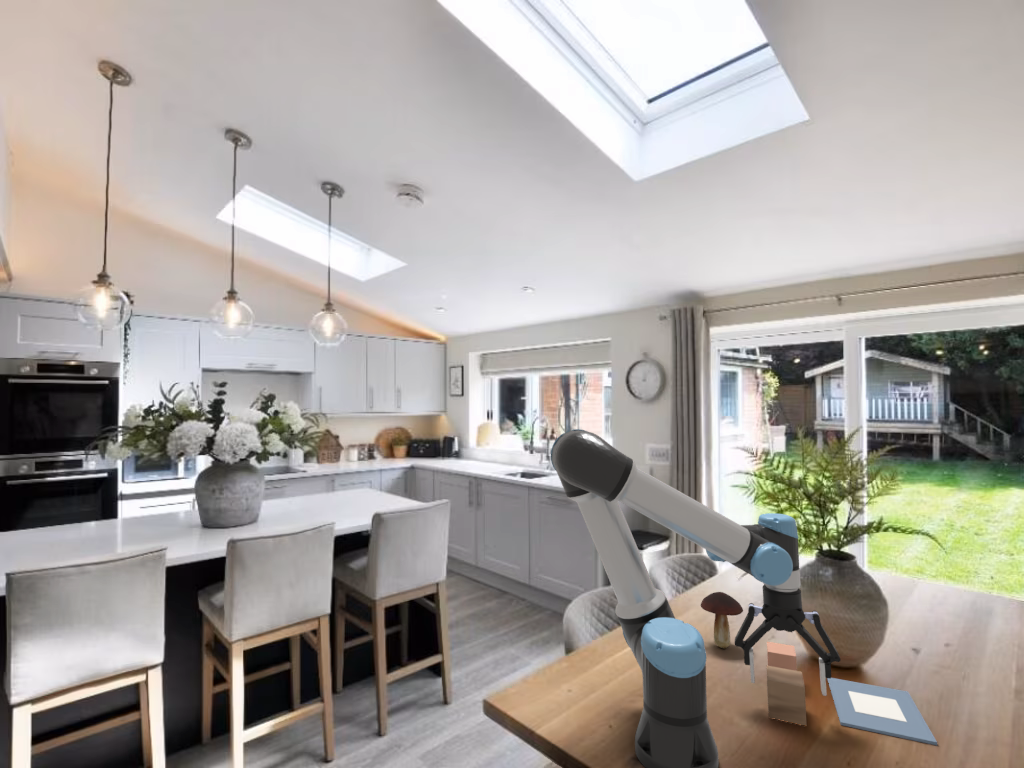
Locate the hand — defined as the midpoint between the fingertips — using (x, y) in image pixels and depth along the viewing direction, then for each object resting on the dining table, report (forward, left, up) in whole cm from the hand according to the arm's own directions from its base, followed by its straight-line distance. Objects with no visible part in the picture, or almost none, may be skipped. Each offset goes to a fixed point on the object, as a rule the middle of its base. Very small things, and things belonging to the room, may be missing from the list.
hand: (787, 686), depth 110 cm
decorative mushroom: (+28, +14, -6) cm, 32 cm away
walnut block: (0, 0, -6) cm, 6 cm away
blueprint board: (+10, -18, -6) cm, 21 cm away
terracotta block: (+14, 0, -6) cm, 15 cm away
